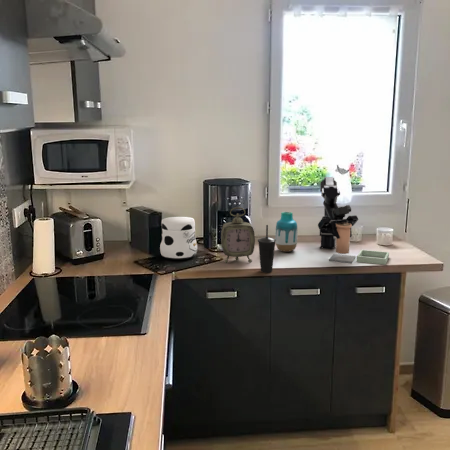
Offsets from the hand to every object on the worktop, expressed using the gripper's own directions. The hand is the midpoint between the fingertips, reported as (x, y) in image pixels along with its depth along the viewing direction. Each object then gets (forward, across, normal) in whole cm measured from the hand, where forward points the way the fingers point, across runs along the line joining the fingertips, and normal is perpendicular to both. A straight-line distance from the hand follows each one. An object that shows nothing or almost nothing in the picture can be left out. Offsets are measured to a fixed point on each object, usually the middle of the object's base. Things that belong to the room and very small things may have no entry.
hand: (344, 237), depth 230 cm
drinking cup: (+9, -40, +6) cm, 42 cm away
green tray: (+11, +13, +4) cm, 17 cm away
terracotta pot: (+4, 0, +6) cm, 7 cm away
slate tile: (+7, 0, +8) cm, 11 cm away
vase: (-9, -17, +24) cm, 31 cm away
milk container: (-16, -69, +31) cm, 77 cm away
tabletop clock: (-4, -46, +19) cm, 50 cm away
